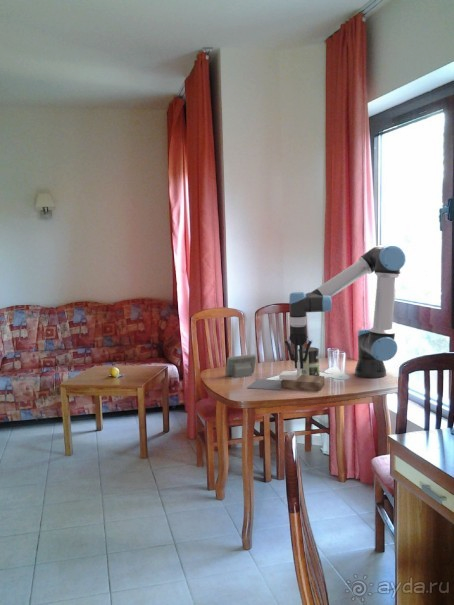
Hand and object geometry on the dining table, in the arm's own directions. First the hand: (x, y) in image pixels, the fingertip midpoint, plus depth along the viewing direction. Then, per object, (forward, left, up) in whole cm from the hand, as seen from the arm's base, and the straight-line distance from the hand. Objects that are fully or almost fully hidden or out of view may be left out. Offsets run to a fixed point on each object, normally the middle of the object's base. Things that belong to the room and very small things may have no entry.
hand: (299, 375), depth 248 cm
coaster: (+5, 0, -1) cm, 5 cm away
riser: (-2, 0, -5) cm, 6 cm away
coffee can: (-1, -19, -6) cm, 20 cm away
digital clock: (+34, -16, -6) cm, 38 cm away
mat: (+15, 0, -5) cm, 16 cm away
